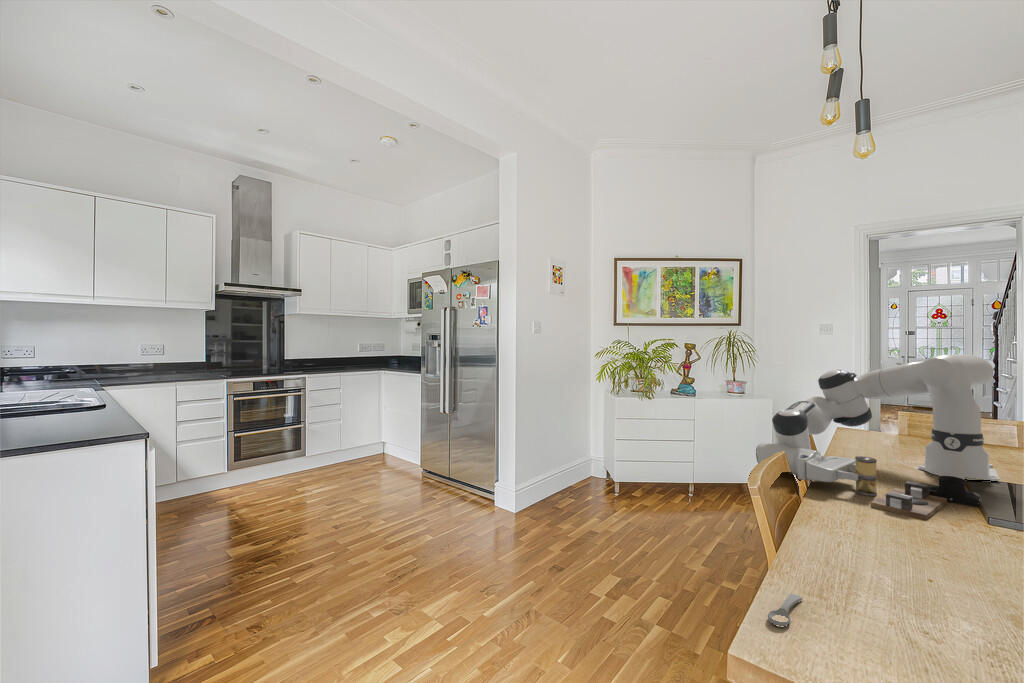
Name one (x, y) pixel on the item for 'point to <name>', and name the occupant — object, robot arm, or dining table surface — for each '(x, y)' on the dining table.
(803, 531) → the dining table surface
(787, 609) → the grey bottle opener
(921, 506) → the board
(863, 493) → the yellow and grey cylinder
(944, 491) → the film camera
